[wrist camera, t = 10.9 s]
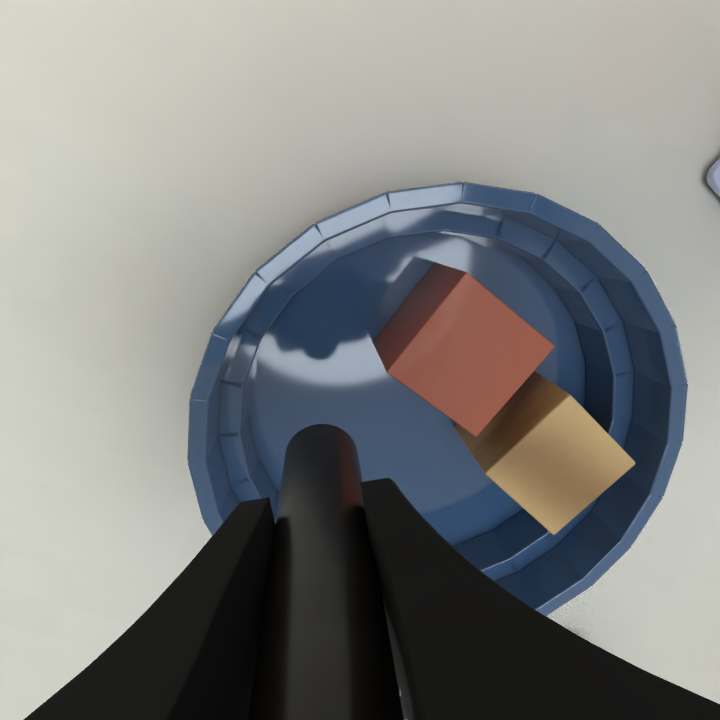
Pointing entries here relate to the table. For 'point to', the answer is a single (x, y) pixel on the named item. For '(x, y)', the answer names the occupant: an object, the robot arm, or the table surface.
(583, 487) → the maple block
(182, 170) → the table surface
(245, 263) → the table surface
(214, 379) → the bowl
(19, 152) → the table surface
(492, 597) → the robot arm
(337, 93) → the table surface
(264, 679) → the dark grey rod
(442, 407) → the terracotta block
